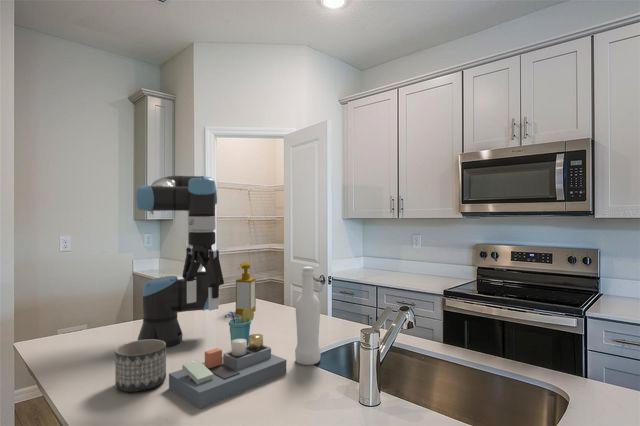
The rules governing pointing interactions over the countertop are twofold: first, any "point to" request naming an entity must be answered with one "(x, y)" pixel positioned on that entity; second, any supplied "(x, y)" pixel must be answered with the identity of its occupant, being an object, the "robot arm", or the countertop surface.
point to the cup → (240, 325)
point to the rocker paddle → (198, 371)
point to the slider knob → (213, 357)
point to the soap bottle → (245, 290)
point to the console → (229, 377)
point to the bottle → (307, 322)
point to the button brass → (255, 342)
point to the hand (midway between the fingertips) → (202, 305)
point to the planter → (140, 365)
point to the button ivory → (239, 347)
